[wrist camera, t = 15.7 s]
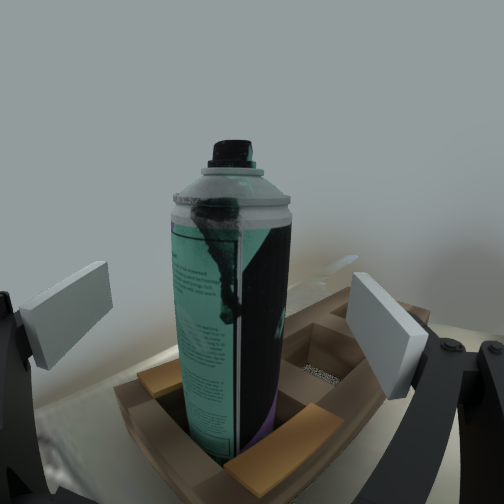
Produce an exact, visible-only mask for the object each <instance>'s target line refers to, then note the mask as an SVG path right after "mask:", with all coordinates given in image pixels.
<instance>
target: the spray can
mask: <svg viewBox="0 0 504 504" xmlns="http://www.w3.org/2000/svg"><path fill="white" fill-rule="evenodd" d="M252 153H253V150H252V145H251V142H250V141H248V140H224V141H219V142H217V143H216V144H215V145H214V149H213V160H211V161H208V168H203V169H201V174H203V175H204V176H202V177H201V178H199V179H197V180H196V181H194V182H193V183H191V184H190V185H189V186H187V187H186V188H185V189H184V190H183V191H182V192H181V193H176V194H174V195H173V201H174V202H175V203H176V206H175V208H174V209H173V211H172V212H171V241H172V267H173V287H174V302H175V315H176V327H177V338H178V348H179V357H180V366H181V374H182V382H183V390H184V397H185V404H186V411H187V417H188V423H189V429H190V435H191V439H192V440H193V441H194V442H195V443H196V444H197V445H198V446H199V447H200V448H201V449H202V450H203V451H204V452H205V453H206V454H207V455H208V456H209V457H211V458H212V459H213V460H214V461H215V462H216V463H217V464H218V465H219V466H220V467H222V468H223V469H224V464H225V463H227V462H229V461H230V460H232V459H234V458H235V457H237V456H238V455H240V454H241V453H243V452H245V451H246V450H248V449H249V448H251V447H252V446H254V445H255V444H257V443H258V442H260V441H261V440H262V439H264V438H265V437H267V436H268V435H270V434H271V433H272V432H273V425H274V417H275V409H276V400H277V392H278V383H279V373H280V364H281V354H282V344H283V333H284V322H285V311H286V298H287V285H288V272H289V257H290V242H291V224H292V214H291V212H290V211H289V209H288V204H290V196H287V195H284V194H283V193H282V192H280V190H278V189H277V188H276V187H275V186H274V185H272V184H271V183H270V182H268V181H267V180H265V179H264V178H262V177H261V176H263V175H264V170H262V169H256V162H253V161H252Z"/></svg>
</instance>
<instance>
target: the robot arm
mask: <svg viewBox="0 0 504 504" xmlns="http://www.w3.org/2000/svg"><path fill="white" fill-rule="evenodd" d="M112 308H113V304H112V297H111V291H110V283H109V274H108V264H107V262H105V261H95V262H94V263H92V264H90V265H88V266H86V267H85V268H83V269H81V270H79V271H78V272H76V273H74V274H72V275H71V276H69V277H67V278H66V279H64V280H62V281H60V282H59V283H58V284H55V285H54V286H52V287H50V288H49V289H47V290H46V291H44V292H42V293H41V294H39V295H38V296H36V297H34V298H33V299H31V300H29V301H28V302H26V303H25V304H23V305H22V306H20V307H19V310H18V311H17V312H15V313H13V308H12V304H11V300H10V296H9V293H8V292H5V291H1V292H0V504H99V503H97V502H95V501H93V500H90V499H88V498H85V497H83V496H80V495H78V494H76V493H74V492H71V491H69V490H67V489H65V488H63V487H60V486H59V488H58V489H57V491H56V493H55V494H51V493H50V491H49V489H48V486H47V483H46V479H45V475H44V471H43V466H42V462H41V457H40V452H39V446H38V440H37V434H36V427H35V420H34V411H33V401H32V385H31V366H30V363H29V360H28V358H29V357H30V356H32V355H33V357H34V360H35V362H36V365H37V367H40V368H43V369H46V370H50V369H51V368H52V367H53V366H54V365H55V364H56V363H57V362H58V361H59V360H60V359H61V358H62V357H63V356H64V355H65V354H66V353H67V352H68V351H69V350H70V349H71V348H72V347H73V346H74V345H75V344H76V343H77V342H78V341H79V340H80V339H81V338H82V337H83V336H84V335H85V334H86V333H87V332H88V331H89V330H90V329H91V328H92V327H93V326H94V325H95V324H96V323H97V322H98V321H99V320H100V319H101V318H102V317H103V316H104V315H106V314H107V313H108V312H109V311H110V310H111V309H112ZM346 322H347V324H348V326H349V328H350V329H351V331H352V333H353V335H354V337H355V338H356V340H357V342H358V344H359V346H360V347H361V349H362V351H363V353H364V355H365V357H366V359H367V360H368V362H369V364H370V366H371V368H372V370H373V372H374V374H375V375H376V377H377V379H378V381H379V383H380V385H381V387H382V389H383V391H384V393H385V395H386V397H387V399H388V400H393V399H400V398H406V396H407V394H408V391H409V389H410V386H411V385H412V387H413V388H414V390H415V393H414V395H413V398H412V400H411V402H410V404H409V406H408V409H407V411H406V413H405V415H404V417H403V419H402V421H401V423H400V425H399V427H398V429H397V431H396V433H395V435H394V437H393V438H392V440H391V442H390V444H389V446H388V448H387V449H386V451H385V453H384V455H383V456H382V458H381V460H380V461H379V463H378V465H377V466H376V468H375V469H374V471H373V473H372V474H371V476H370V477H369V479H368V480H367V482H366V483H365V485H364V486H363V488H362V489H361V491H360V492H359V494H358V495H357V496H356V498H355V499H354V500H353V502H352V503H351V504H425V503H426V500H427V498H428V496H429V493H430V491H431V489H432V486H433V484H434V481H435V478H436V476H437V473H438V470H439V467H440V465H441V462H442V459H443V456H444V453H445V449H446V446H447V443H448V439H449V436H450V432H451V428H452V425H453V421H454V416H455V412H456V408H457V411H458V421H459V435H460V464H461V470H460V498H459V504H504V345H502V343H500V342H499V343H498V341H484V342H483V343H482V344H481V347H480V349H479V352H478V353H477V352H466V350H465V347H464V346H463V345H462V344H461V343H460V342H458V341H456V340H454V339H450V338H439V337H438V336H437V335H436V334H435V333H434V332H433V331H432V330H431V329H430V328H429V327H428V326H427V325H426V324H425V323H423V321H422V320H421V319H420V318H419V317H418V316H417V315H415V314H413V313H411V312H409V311H405V310H404V309H403V308H402V307H401V306H400V305H399V304H398V303H397V302H396V301H395V300H394V299H393V298H392V297H391V296H390V295H389V294H388V293H387V292H386V291H385V290H384V289H383V288H382V287H381V286H380V285H379V284H378V283H377V282H376V281H375V280H374V279H373V278H372V277H371V276H369V275H368V274H367V273H363V272H360V273H359V272H353V275H352V282H351V289H350V296H349V302H348V308H347V314H346Z"/></svg>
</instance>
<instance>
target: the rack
mask: <svg viewBox="0 0 504 504" xmlns="http://www.w3.org/2000/svg"><path fill="white" fill-rule="evenodd" d="M350 289H351V287H346V288H344V289H342V290H341V291H339V292H337V293H335V294H333V295H331V296H329V297H327V298H325V299H323V300H321V301H319V302H317V303H315V304H313V305H311V306H309V307H307V308H305V309H303V310H301V311H299V312H297V313H295V314H293V315H291V316H289V317H287V318H285V322H284V333H283V344H282V354H281V364H280V373H279V383H278V392H277V400H276V409H275V417H274V425H273V432H272V433H271V434H270V435H268V436H267V437H265V438H264V439H262V440H261V441H260V442H258V443H257V444H255V445H254V446H252V447H251V448H249V449H248V450H246V451H245V452H243V453H241V454H240V455H238V456H237V457H235V458H234V459H232V460H230V461H229V462H227V463H225V464H224V469H223V468H222V467H220V466H219V465H218V464H217V463H216V462H215V461H214V460H213V459H212V458H211V457H209V456H208V455H207V454H206V453H205V452H204V451H203V450H202V449H201V448H200V447H199V446H198V445H197V444H196V443H195V442H194V441H193V440H192V439H191V438H190V437H189V436H188V435H187V433H189V432H190V429H189V423H188V417H187V411H186V404H185V397H184V390H183V382H182V374H181V366H180V358H179V359H176V360H173V361H171V362H168V363H165V364H162V365H160V366H157V367H154V368H151V369H148V370H146V371H143V372H140V373H137V376H138V379H136V380H134V381H131V382H128V383H125V384H122V385H119V386H116V387H113V388H114V391H115V394H116V398H117V401H118V404H119V407H120V410H121V413H122V416H123V419H124V421H125V424H126V427H127V430H128V432H129V434H130V435H131V437H132V438H133V440H134V441H135V443H136V444H137V445H138V447H139V448H140V450H141V451H142V452H143V454H144V455H145V456H146V458H147V459H148V460H149V462H150V463H151V464H152V465H153V467H154V468H155V469H156V471H157V472H158V473H159V474H160V475H161V477H162V478H163V479H164V480H165V481H166V483H167V484H168V485H169V486H170V487H171V488H172V490H173V491H174V492H175V493H176V494H177V495H178V496H179V497H180V499H181V500H182V501H183V502H184V503H185V504H287V503H289V502H290V501H291V500H292V499H293V498H295V497H296V496H297V495H298V494H299V493H300V492H301V491H303V490H304V489H305V488H306V487H307V486H308V485H309V484H310V483H311V482H312V481H313V480H315V479H316V478H317V477H318V476H319V475H320V474H321V473H322V472H323V471H324V470H325V469H326V468H327V467H328V466H329V465H330V464H331V463H332V462H333V461H334V460H335V459H336V458H337V457H338V455H339V454H340V453H341V452H342V451H343V450H344V449H345V448H346V447H347V446H348V445H349V443H350V442H351V441H352V440H353V439H354V438H355V437H356V435H357V434H358V433H359V432H360V431H361V430H362V428H363V427H364V426H365V425H366V424H367V422H368V421H369V420H370V419H371V417H372V416H373V415H374V414H375V412H376V411H377V410H378V408H379V407H380V406H381V404H382V403H383V402H384V400H385V399H386V398H387V397H386V395H385V393H384V391H383V389H382V387H381V385H380V383H379V381H378V379H377V377H376V375H375V374H374V372H373V370H372V368H371V366H370V364H369V362H368V360H367V359H366V357H365V355H364V353H363V351H362V349H361V347H360V346H359V344H358V342H357V340H356V338H355V337H354V335H353V333H352V331H351V329H350V328H349V326H348V324H347V322H346V314H347V308H348V302H349V296H350ZM396 302H397V303H398V304H399V305H400V306H401V307H402V308H403V309H404V310H405V311H409V312H411V313H413V314H415V315H417V316H418V317H419V318H420V319H421V320H422V321H423V323H425V324H426V325H427V323H428V319H429V315H430V311H429V310H426V309H422V308H419V307H415V306H412V305H409V304H405V303H402V302H398V301H396ZM306 363H308V364H310V365H312V366H314V367H316V368H318V369H321V370H323V371H325V372H327V373H329V374H331V375H333V376H335V377H338V378H340V379H342V381H341V382H339V383H338V384H337V385H336V386H334V385H332V384H330V383H328V382H326V381H324V380H322V379H320V378H318V377H316V376H314V375H312V374H310V373H308V372H306V371H304V370H302V369H300V368H301V367H302V366H304V365H305V364H306Z"/></svg>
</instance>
